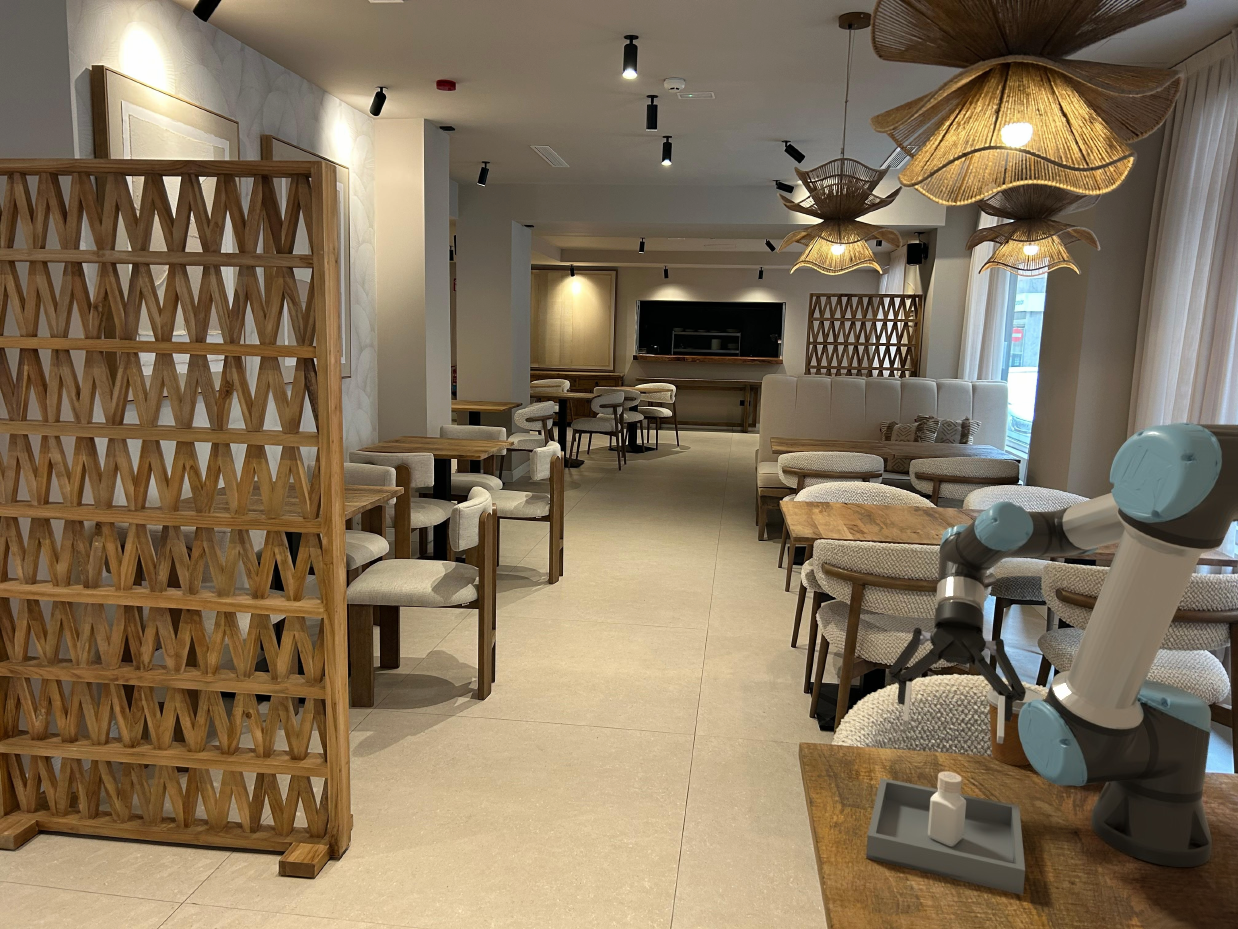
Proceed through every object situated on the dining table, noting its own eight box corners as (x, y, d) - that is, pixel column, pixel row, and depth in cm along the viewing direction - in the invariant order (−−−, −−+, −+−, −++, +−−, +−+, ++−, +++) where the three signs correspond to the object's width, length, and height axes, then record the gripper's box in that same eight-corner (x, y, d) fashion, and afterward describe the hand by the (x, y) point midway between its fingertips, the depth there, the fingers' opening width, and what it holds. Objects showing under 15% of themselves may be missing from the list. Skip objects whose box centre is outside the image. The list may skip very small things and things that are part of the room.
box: (1017, 827, 130) (1018, 805, 129) (1022, 895, 113) (1025, 870, 113) (879, 798, 137) (880, 778, 137) (866, 858, 121) (867, 835, 120)
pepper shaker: (925, 838, 125) (930, 776, 124) (938, 827, 128) (943, 767, 127) (952, 849, 122) (957, 786, 121) (964, 839, 125) (969, 777, 124)
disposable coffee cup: (1047, 773, 147) (1053, 706, 146) (988, 766, 149) (993, 700, 147) (1032, 748, 156) (1038, 685, 155) (976, 742, 158) (981, 680, 157)
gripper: (1039, 631, 142) (1039, 756, 130) (882, 612, 151) (868, 726, 139) (1044, 609, 137) (1045, 737, 125) (881, 590, 146) (867, 707, 134)
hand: (952, 732), depth 132 cm, fingers open, 13 cm apart
